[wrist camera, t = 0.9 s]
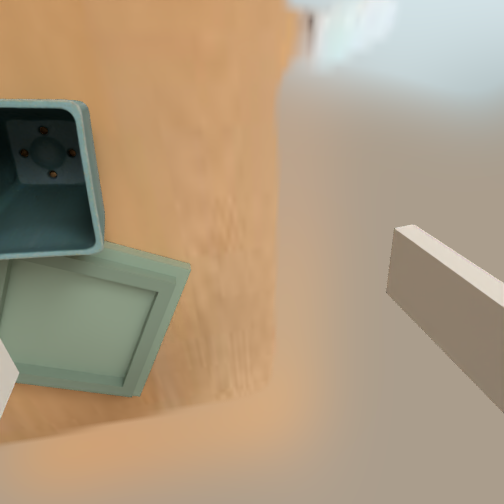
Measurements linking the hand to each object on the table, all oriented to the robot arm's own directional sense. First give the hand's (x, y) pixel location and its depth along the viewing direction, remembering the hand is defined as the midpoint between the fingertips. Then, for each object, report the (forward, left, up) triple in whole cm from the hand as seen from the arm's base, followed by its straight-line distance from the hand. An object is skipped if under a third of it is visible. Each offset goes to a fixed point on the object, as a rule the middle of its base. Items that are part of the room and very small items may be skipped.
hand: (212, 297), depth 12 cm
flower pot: (-9, -3, -20) cm, 23 cm away
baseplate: (-4, -17, -20) cm, 27 cm away
